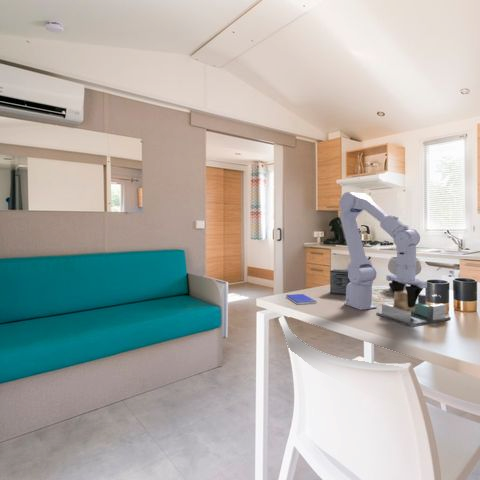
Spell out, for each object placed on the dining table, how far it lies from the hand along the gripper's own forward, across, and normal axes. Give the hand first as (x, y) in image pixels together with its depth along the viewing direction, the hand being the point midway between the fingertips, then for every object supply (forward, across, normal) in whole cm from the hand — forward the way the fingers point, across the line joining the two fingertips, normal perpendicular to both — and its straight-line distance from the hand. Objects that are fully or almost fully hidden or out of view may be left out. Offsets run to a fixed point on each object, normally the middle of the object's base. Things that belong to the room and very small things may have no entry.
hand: (404, 305), depth 111 cm
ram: (+4, 0, +7) cm, 8 cm away
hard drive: (+5, -35, -19) cm, 40 cm away
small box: (+5, -37, +5) cm, 38 cm away
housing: (+2, 0, 0) cm, 2 cm away
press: (+5, 0, +4) cm, 6 cm away
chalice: (+5, -31, +35) cm, 47 cm away
